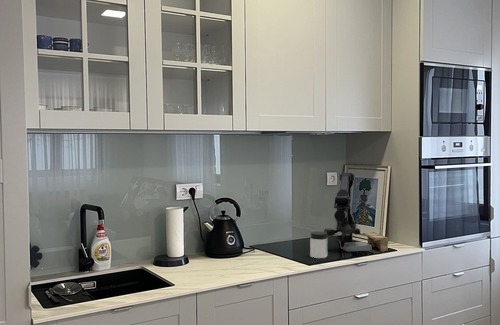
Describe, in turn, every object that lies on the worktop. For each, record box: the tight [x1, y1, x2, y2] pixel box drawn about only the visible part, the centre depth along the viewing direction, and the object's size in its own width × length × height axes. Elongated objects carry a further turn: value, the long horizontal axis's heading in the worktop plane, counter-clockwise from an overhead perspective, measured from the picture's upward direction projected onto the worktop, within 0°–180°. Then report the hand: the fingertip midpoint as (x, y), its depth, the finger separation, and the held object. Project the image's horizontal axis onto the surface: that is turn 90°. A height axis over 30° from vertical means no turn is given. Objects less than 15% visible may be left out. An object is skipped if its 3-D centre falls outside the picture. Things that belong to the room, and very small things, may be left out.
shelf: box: [362, 231, 389, 252], centre depth 272 cm, size 16×7×7 cm, turn 12°
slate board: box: [340, 241, 373, 252], centre depth 269 cm, size 9×14×3 cm, turn 102°
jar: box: [309, 231, 328, 259], centre depth 252 cm, size 9×8×12 cm
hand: (341, 247), depth 268 cm, fingers closed
